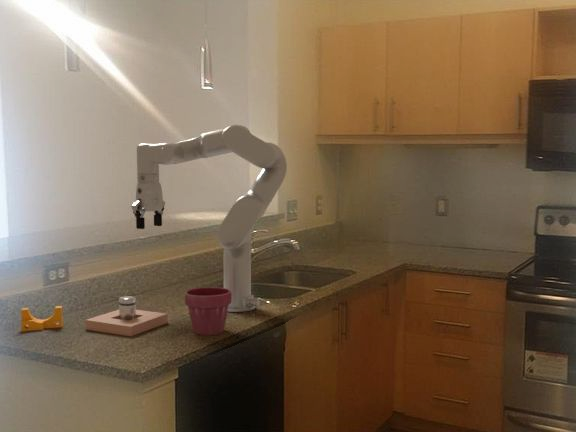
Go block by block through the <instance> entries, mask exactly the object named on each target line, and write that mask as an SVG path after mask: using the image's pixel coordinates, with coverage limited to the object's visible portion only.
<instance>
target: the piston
mask: <svg viewBox="0 0 576 432" xmlns="http://www.w3.org/2000/svg"><path fill="white" fill-rule="evenodd" d="M118 310H119V319H120V320H127V321H129V320H132V319H135V318H136V310H137V298H136V296H131V295H130V296H129V295H127V296H121V297H119V298H118Z"/></svg>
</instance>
